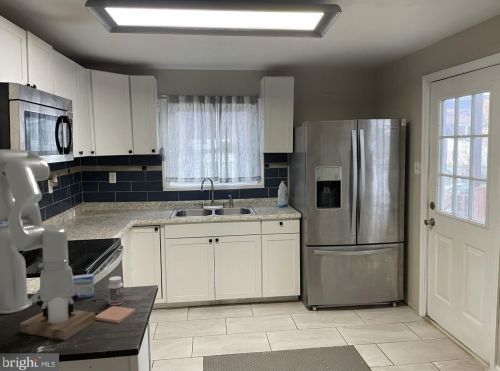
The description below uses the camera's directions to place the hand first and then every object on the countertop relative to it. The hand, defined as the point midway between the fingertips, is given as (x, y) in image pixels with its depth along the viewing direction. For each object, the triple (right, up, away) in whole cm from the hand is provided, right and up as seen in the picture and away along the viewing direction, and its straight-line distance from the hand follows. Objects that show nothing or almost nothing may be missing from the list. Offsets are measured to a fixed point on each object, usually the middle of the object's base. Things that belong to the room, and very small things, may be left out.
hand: (58, 315), depth 129 cm
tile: (+16, -3, +9) cm, 19 cm away
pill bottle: (+12, -2, +21) cm, 24 cm away
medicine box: (-3, -1, +27) cm, 28 cm away
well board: (0, -4, 0) cm, 4 cm away
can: (0, -4, 0) cm, 4 cm away
